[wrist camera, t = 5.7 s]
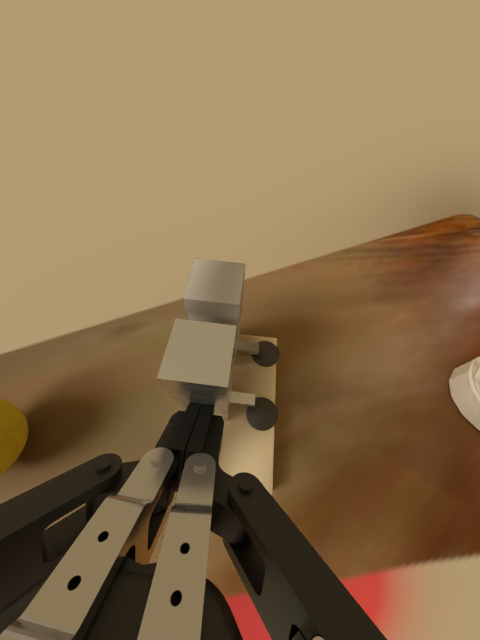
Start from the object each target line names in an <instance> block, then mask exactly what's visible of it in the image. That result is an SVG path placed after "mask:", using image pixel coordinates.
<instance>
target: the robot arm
mask: <svg viewBox="0 0 480 640" xmlns="http://www.w3.org/2000/svg"><path fill="white" fill-rule="evenodd" d="M214 409H215V406H212V405H204V404H196V403H189V404H188V406H187V409H186V411H177V412H176V413H175V414H174V415H172V417H171V419H170V421H169V423H168V424H167V426H166V429H165V430H164V432H163V434H162V435H161V437H160V439H159V441H158V443H157V445H156V447H155V448H154V449H151V450H150V451H148V452H147V453H146V454H145V455H144V456H143V457H142V459H141V460H138V461H133V462H126V463H122V460H121V458H120V457H119V456H118V455H116V454H103V455H100V456H98V457H96V458H94V459H92V460H90V461H88V462H86V463H84V464H82V465H79V466H77V467H75V468H73V469H71V470H69V471H67V472H65V473H63V474H61V475H59V476H57V477H55V478H53V479H51V480H49V481H47V482H45V483H43V484H41V485H39V486H37V487H35V488H33V489H31V490H29V491H27V492H24V493H22V494H20V495H18V496H16V497H14V498H12V499H10V500H8V501H6V502H4V503H2V504H0V640H243V639H242V636H241V634H240V631H239V629H238V626H237V624H236V621H235V619H234V616H233V614H232V611H231V609H230V607H229V605H228V603H227V601H226V599H225V598H224V596H223V595H222V593H221V592H220V590H219V589H218V588H217V587H216V586H215V585H214V584H213V583H212V582H211V581H210V580H208V579H207V578H206V571H207V560H208V549H209V538H210V531H212V532H213V533H215V534H217V535H219V536H220V537H222V538H223V543H224V546H225V548H226V550H227V552H228V554H229V556H230V558H231V560H232V562H233V564H234V566H235V568H236V570H237V572H238V574H239V576H240V578H241V580H242V582H243V583H244V585H245V587H246V589H247V591H248V593H249V595H250V597H251V599H252V601H253V603H254V605H255V607H256V609H257V611H258V613H259V615H260V617H261V619H262V621H263V623H264V625H265V626H266V629H267V631H268V632H269V634H270V636H271V638H272V640H387V639H386V638H385V637H384V635H383V634H382V633H381V632H380V630H379V629H378V628H377V627H376V625H375V624H374V623H373V622H372V620H371V619H370V618H369V617H368V615H367V614H366V613H365V612H364V610H363V609H362V608H361V607H360V605H359V604H358V603H357V602H356V600H355V599H354V598H353V597H352V596H351V594H350V593H349V592H348V590H347V589H346V588H345V587H344V585H343V584H342V583H341V582H340V580H339V579H338V578H337V577H336V575H335V574H334V573H333V572H332V570H331V569H330V568H329V567H328V565H327V564H326V563H325V562H324V560H323V559H322V558H321V557H320V556H319V554H318V553H317V552H316V551H315V549H314V548H313V547H312V546H311V544H310V543H309V542H308V541H307V539H306V538H305V537H304V536H303V534H302V533H301V532H300V531H299V529H298V528H297V527H296V526H295V524H294V523H293V522H292V521H291V519H290V518H289V517H288V516H287V514H286V513H285V512H284V511H283V509H282V508H281V507H280V506H279V504H278V503H277V502H276V501H275V499H274V498H273V497H272V496H271V494H270V493H269V492H268V491H267V489H266V488H265V487H264V486H263V484H262V483H261V482H260V481H259V479H258V478H257V477H255V476H254V475H252V474H250V473H247V472H241V473H238V474H236V475H234V476H231V475H229V474H227V473H225V472H224V471H223V470H222V469H221V468H220V466H219V458H220V452H221V447H222V439H223V430H224V420H223V418H222V416H218V415H214ZM175 491H176V492H178V493H177V497H176V501H175V505H174V506H173V507H172V509H171V502H172V499H173V496H174V493H175ZM84 503H85V506H84V507H82V508H80V509H79V510H77V511H76V512H74V513H72V514H71V515H69V516H67V517H66V518H64V519H63V520H61V521H59V522H58V523H56V524H54V525H53V526H51V527H49V528H48V529H46V530H45V528H46V527H47V526H49V525H50V524H51V523H53V522H54V521H56V520H58V519H59V518H61V517H63V516H64V515H66V514H67V513H69V512H71V511H72V510H74V509H76V508H77V507H79V506H81V505H82V504H84ZM170 509H171V512H170V515H169V519H168V523H167V527H166V530H165V534H164V538H163V542H162V546H161V550H160V554H159V557H158V561H157V563H152V564H149V561H150V558H151V555H152V553H153V550H154V548H155V545H156V543H157V540H158V538H159V536H160V533H161V531H162V528H163V526H164V524H165V521H166V519H167V516H168V514H169V511H170Z"/></svg>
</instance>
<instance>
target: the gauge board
mask: <svg viewBox="0 0 480 640" xmlns="http://www.w3.org/2000/svg"><path fill="white" fill-rule="evenodd" d="M244 275H245V264H242V263H233V262H224V261H215V260H206V259H197V258H195V260H194V263H193V266H192V270H191V273H190V276H189V279H188V283H187V286H186V289H185V292H184V296H183V301H184V305H185V309H186V312H187V316H188V319H189V320H194V321H202V322H210V323H219V324H227V325H235V326H237V328H236V344H235V361H234V377H233V387H232V391H233V392H241V393H249V394H255V406H254V407H249V406H242V405H234V404H230V410H229V418H228V421H227V420H224V430H223V439H222V447H221V452H220V458H219V466H220V468H221V469H222V470H223V471H224V472H225V473H227V474H229V475H231V476H234V475H236V474H238V473H241V472H247V473H250V474H252V475H254V476H255V477H257V478H258V479H259V481H260V482H261V483H262V484H263V486H264V487H265V488H266V489H267V491H268V492H269V493H270V494H271V495H272V488H273V455H274V425H275V423H276V421H277V418H278V412H277V408H276V406H275V390H276V362H277V361H278V358H279V350H278V348H277V338H270V337H262V336H253V335H245V334H239V333H240V321H241V310H242V298H243V286H244ZM177 411H184V410H183V408H182V407H181V406H180V405H179V404H178V405H177V409H176V412H177Z"/></svg>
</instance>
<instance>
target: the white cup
mask: <svg viewBox="0 0 480 640" xmlns="http://www.w3.org/2000/svg"><path fill="white" fill-rule="evenodd" d="M449 387H450V393H451V397H452V399H453V401H454V402H455V404H456V406H457V407H458V409H459V411H460V412H461V414H462V415H463V416H464V417H465V418H466V419H467V420H468V421H469V422H470V423H471V424H472V425H474V426H475V427H476V428H477V429H478V430H479V431H480V356H479V357H477V358H475V359H474V360H472V361H469V362H467V363H465V364H463V365H461V366H459V367H457V368H455V369H454V370H453V372H452V374H451V376H450V378H449Z"/></svg>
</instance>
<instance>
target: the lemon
mask: <svg viewBox="0 0 480 640" xmlns="http://www.w3.org/2000/svg"><path fill="white" fill-rule="evenodd" d="M27 438H28V424H27V420H26V417H25V416H24V415H23V413H22V412H21V410H20V409H19V408H18V407H16V406H15V405H13V404H11V403H10V402H8V401H7V400H4V399H2V398H0V475H1V474H3V473H4V472H5V471H6V470H7V469H8V468H9V467H10V466H11V465H12V464H13V463H14V462H15V460H16V459H17V458H18V457H19V455H20V454H21V452H22V450H23V448H24V446H25V444H26V441H27Z"/></svg>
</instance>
